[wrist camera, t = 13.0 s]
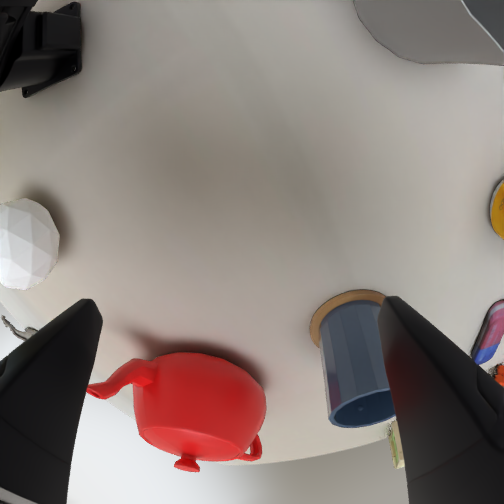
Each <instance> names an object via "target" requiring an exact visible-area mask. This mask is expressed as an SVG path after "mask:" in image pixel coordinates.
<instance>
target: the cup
mask: <svg viewBox="0 0 504 504" xmlns="http://www.w3.org/2000/svg"><path fill="white" fill-rule="evenodd" d="M353 1H354V4H355V7H356V10H357V14H358V17H359V19H360V20H361V22H362V23H363V24H364V25H365V27H366V28H367V29H368V31H369V32H370V33H371V34H372V36H373V37H374V39H375V40H376V41H377V42H379V43H380V44H382V45H383V46H384V47H386V48H387V49H389V50H390V51H391V52H393V53H394V54H396V55H397V56H398V57H400V58H404V59H407V60H411V61H414V62H418V63H421V64H437V63H466V64H487V65H499V66H504V0H353Z"/></svg>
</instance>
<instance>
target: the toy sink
mask: <svg viewBox="0 0 504 504" xmlns="http://www.w3.org/2000/svg"><path fill="white" fill-rule="evenodd" d="M389 443H390V448H391V453H392V459H393V464H394V468H395V469H398V468H401V467H404V466H405V464H404V457H403V451H402V445H401V440H400V434H399V429H398V424H397V421H394V422H392V427H391V435H389Z"/></svg>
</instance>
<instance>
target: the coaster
mask: <svg viewBox="0 0 504 504" xmlns="http://www.w3.org/2000/svg"><path fill="white" fill-rule="evenodd" d="M385 297H386V296H384V295H383V294H381V293H379V292H376V291H372V290H355V291H350V292H346V293H343V294H340V295H338V296H336V297H334V298H332V299H330V300H329V301H327V302H326V303H325V304H323V305H322V306H321V307H320V308H319V309H318V310H317V312H316V313H315V314H314V316H313V318H312V320H311V323H310V335H311V338H312V341H313V342H314V344H315V345H316V346H317V347H318V348H320V345H319V334H318V329H319V325H320V323H321V321H322V319H323V318H324V317H325V316H326V315H327V314H328V313H329V312H330V311H331V310H333V309H334V308H336V307H337V306H339V305H341V304H344V303H347V302H350V301H355V300H370V301H374V302H377V303H379V304H380V305H382V302H383V299H384V298H385Z"/></svg>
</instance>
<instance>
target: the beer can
mask: <svg viewBox="0 0 504 504" xmlns="http://www.w3.org/2000/svg"><path fill="white" fill-rule="evenodd" d="M490 216H491V223H492V227H493V229H494V231H495V232H496V233H497V234H498V235H499V236H500V237H501V238H502V239H503V240H504V180H502V181H501V182H500V183H499V185H498V186H497V187H496V189H495V191H494V193H493V196H492V199H491V203H490Z"/></svg>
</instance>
